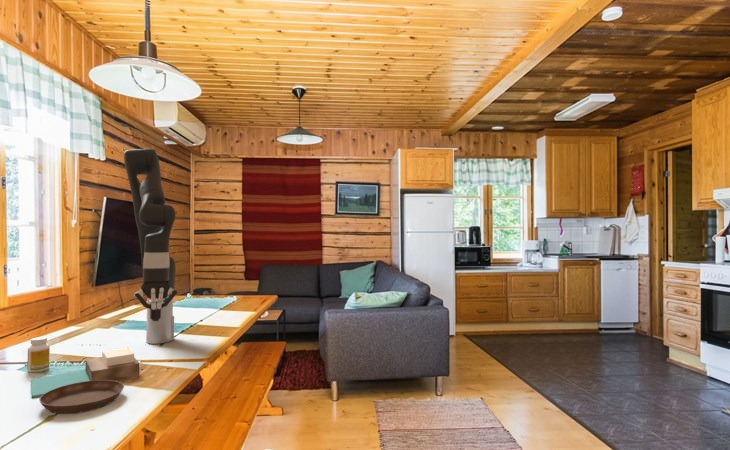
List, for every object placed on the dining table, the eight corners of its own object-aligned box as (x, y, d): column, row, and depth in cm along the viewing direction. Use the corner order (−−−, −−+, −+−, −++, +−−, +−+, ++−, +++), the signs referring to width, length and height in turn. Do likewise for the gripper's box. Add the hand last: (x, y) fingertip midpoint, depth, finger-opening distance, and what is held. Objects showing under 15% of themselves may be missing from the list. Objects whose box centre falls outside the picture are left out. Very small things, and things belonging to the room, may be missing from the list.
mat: (84, 371, 128) (85, 369, 128) (91, 386, 116) (91, 384, 116) (30, 381, 120) (30, 378, 120) (31, 398, 108) (32, 395, 108)
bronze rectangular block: (129, 364, 135) (130, 352, 135) (139, 376, 124) (139, 363, 125) (85, 372, 128) (85, 359, 128) (91, 385, 117) (91, 371, 117)
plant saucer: (108, 385, 118) (108, 374, 118) (135, 401, 107) (135, 389, 107) (30, 404, 104) (30, 392, 105) (51, 426, 93) (51, 412, 93)
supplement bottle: (53, 368, 132) (54, 337, 132) (35, 373, 127) (35, 341, 127) (41, 366, 133) (42, 335, 134) (23, 371, 128) (23, 339, 128)
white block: (128, 354, 133) (128, 347, 133) (133, 361, 126) (134, 353, 126) (102, 358, 128) (102, 351, 128) (106, 366, 121) (107, 358, 121)
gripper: (175, 265, 141) (173, 316, 141) (130, 266, 133) (129, 321, 133) (181, 266, 136) (180, 320, 135) (135, 268, 127) (134, 325, 127)
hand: (155, 320), depth 134 cm, fingers closed
